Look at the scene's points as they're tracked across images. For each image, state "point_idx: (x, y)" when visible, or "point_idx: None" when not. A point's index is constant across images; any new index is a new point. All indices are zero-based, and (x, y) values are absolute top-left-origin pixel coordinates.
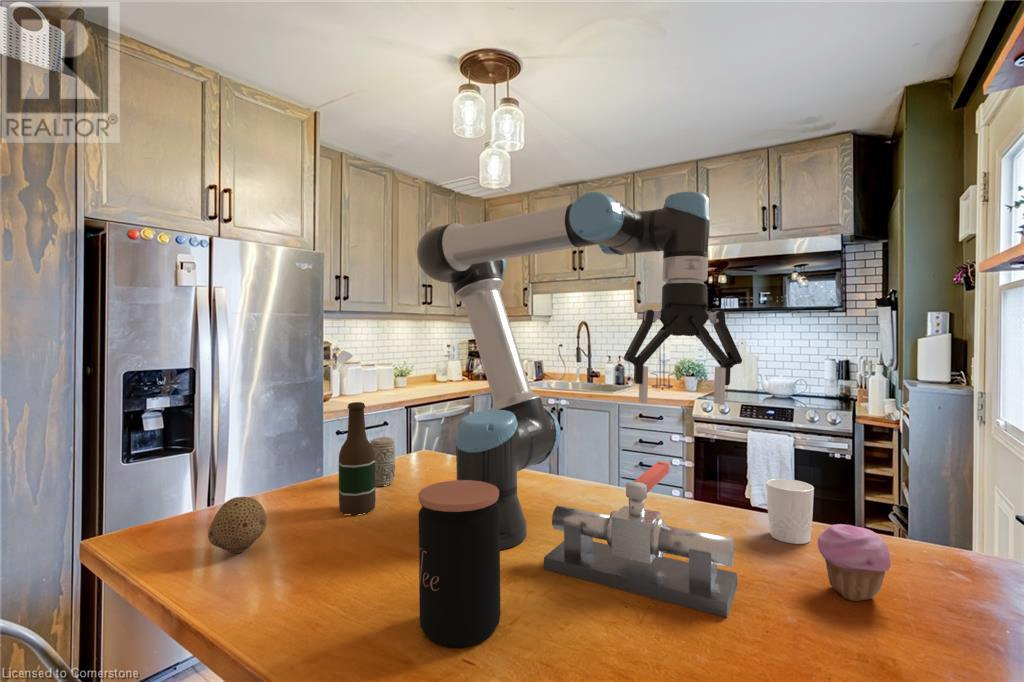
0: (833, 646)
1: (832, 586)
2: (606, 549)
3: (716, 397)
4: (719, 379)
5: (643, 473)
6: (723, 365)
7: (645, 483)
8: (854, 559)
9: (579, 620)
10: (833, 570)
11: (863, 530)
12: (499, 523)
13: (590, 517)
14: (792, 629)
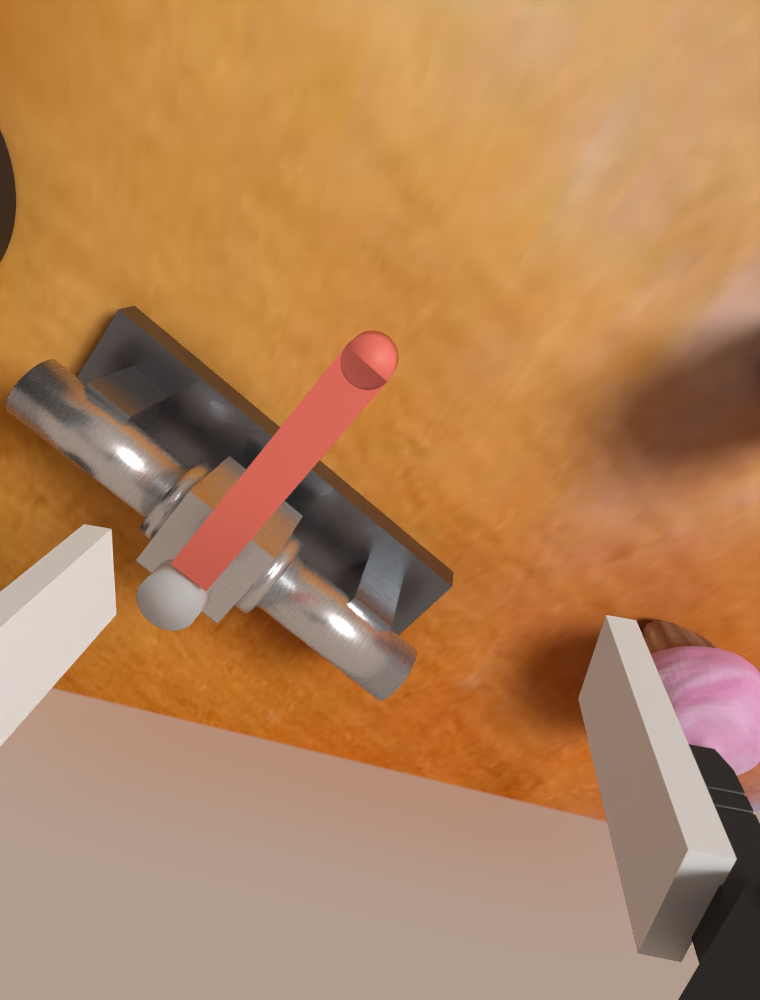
0: (480, 744)
1: (642, 631)
2: (201, 415)
3: (601, 678)
4: (622, 823)
5: (231, 490)
6: (702, 955)
7: (203, 588)
8: None
9: (120, 602)
10: None
11: (726, 761)
12: None
13: (102, 483)
14: (451, 701)
